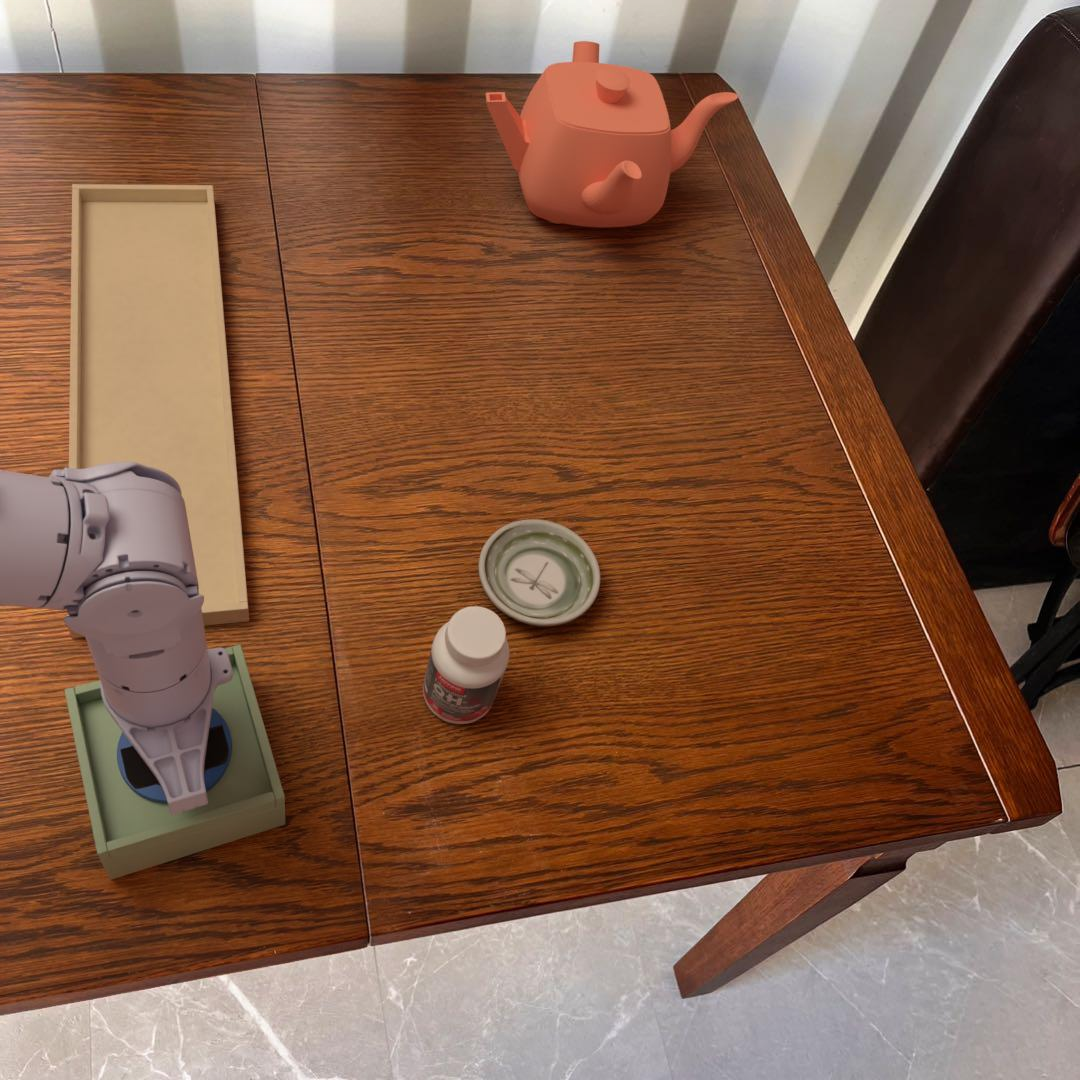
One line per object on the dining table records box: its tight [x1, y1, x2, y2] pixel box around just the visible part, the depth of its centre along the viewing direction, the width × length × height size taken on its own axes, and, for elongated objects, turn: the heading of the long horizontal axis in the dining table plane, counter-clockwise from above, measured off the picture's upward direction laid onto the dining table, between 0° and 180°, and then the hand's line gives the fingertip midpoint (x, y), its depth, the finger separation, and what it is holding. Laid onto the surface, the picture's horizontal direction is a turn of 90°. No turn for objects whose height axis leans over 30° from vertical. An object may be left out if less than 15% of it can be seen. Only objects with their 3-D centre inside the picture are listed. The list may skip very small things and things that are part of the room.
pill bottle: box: [422, 605, 510, 725], centre depth 76 cm, size 5×5×10 cm
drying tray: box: [66, 183, 250, 639], centre depth 89 cm, size 45×12×2 cm, turn 12°
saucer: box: [477, 518, 601, 627], centre depth 85 cm, size 10×10×2 cm
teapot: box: [485, 40, 739, 228], centre depth 108 cm, size 18×18×14 cm
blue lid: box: [117, 708, 232, 804], centre depth 68 cm, size 7×7×5 cm
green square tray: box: [64, 644, 286, 881], centre depth 71 cm, size 11×11×6 cm
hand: (173, 741), depth 69 cm, fingers open, 5 cm apart
